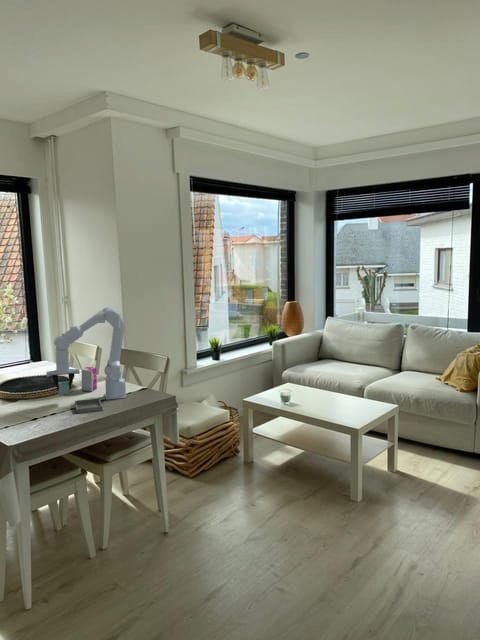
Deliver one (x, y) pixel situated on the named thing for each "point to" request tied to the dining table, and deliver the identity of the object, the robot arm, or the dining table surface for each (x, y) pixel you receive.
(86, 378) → the supplement box
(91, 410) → the tray
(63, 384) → the teal block
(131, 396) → the dining table surface
